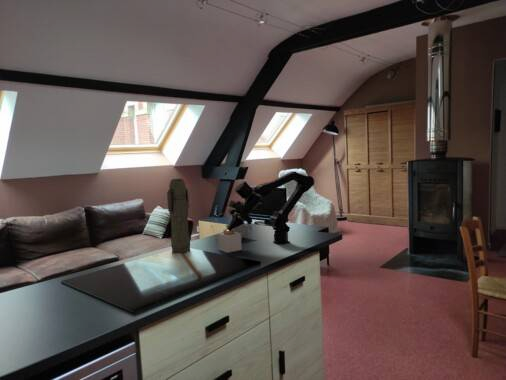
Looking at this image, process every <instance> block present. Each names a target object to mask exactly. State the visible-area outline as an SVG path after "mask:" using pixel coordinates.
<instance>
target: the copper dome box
mask: <svg viewBox="0 0 506 380" xmlns="http://www.w3.org/2000/svg"><path fill="white" fill-rule="evenodd" d="M217 242H218V243H217V246H218V250H219V251H221V252H223V253H227V254H228V253H233V252H238V251H242V239H241V233H237V232H235V234H231V235H225V234H223V232H219V233H217Z"/></svg>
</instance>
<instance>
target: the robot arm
mask: <svg viewBox="0 0 506 380" xmlns="http://www.w3.org/2000/svg"><path fill="white" fill-rule="evenodd" d="M293 181H294V182H295V183H296V187H295V189H294V191H292V193H291V195H290V196H289V198H288V199H287V201H286V202H285V203H284V205H283V206H282V207H281V209H280V210H279V211H276V210H275V211H274V212H273V214H272V215H271V216H270V217H269V218H270V219H269V225H270V226H271V228H272V229H273V232H274V233H273V241H272V243H273V244H277V245H284V244H285V245H286V244H290V243H291V241H289V232H290V229H291V227H290V226H289V225H288V224H287V222H288V220H289V219H288V218H289V215H290V214H291V212H292V211H293V209H294V208H295V207H296V205H297V204H298V202H299V200H300V199H301V198H302V197H303V195H304V194H305V193H306V192H307V191H309V190H311V188H312V187H313V186H314V184H315V178H314V177H313V176H312V175H305V174H301V173H300V172H298V171H293V170H291V171H289V172H287V173H286V174H283V175H280V176H278V178H276V179H274V180H272V181H269V182H263V183H259V184H257V185H256V186H255V187H251V186H250V185H249V183H248V182H247V181H243V182H242V183H240V184H238V185H237V186H236V187H235V189H234V191H235V193H236V194H237V195H238V196H239V197H240V198H242V199H243V200H244V199H246V200H245V201H244V202H242V201H240V200H236V201H234V200H230V201H229V203H228V207H229V208H231V209H229V210H228V214H229V215H230V216H231V218H232V219H231V221H230V223H229V224H230V225H229V227H228V230H232V229H234V228H236V227H238V226H240V225H242V224H247V225H251V224H252V223H253V218H252V217H250V214H251V213H254V212H255V208H257V206H258V205H259V204H260V205H264V204H265V202H264V198H265V197H268V196H269V195H271V194H272V193H273V192H274V190H276V189H278V188H280V187H282V186H284V185H286V184H288V183H290V182H293ZM260 197H263V198H260ZM245 222H246V223H245Z"/></svg>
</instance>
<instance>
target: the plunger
mask: <svg viewBox="0 0 506 380" xmlns="http://www.w3.org/2000/svg"><path fill="white" fill-rule="evenodd" d="M222 233H223V234H225V235H231V234H235V229H232V230H228V229H227V228H226V229H224V230H223V231H222Z"/></svg>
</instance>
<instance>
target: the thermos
mask: <svg viewBox="0 0 506 380" xmlns="http://www.w3.org/2000/svg"><path fill="white" fill-rule="evenodd" d="M186 186H187V185H186V182H185V179H182V178H172V179H170V182H169V187H168V188H169V189H168V190H167V192H166V196H167V199H166V200H167V209H168V212H169V218H170V224H171V225H170V227H171V237H170V242H171V243H170V244H171V251H172V252H173V253H172V252H171V253H172V254H175V253H182V254H187V253H190V252H191V236H190V233H189V220H188V218H189V217H188V216H189V208H190V200H189V190H188V188H186Z"/></svg>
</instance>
